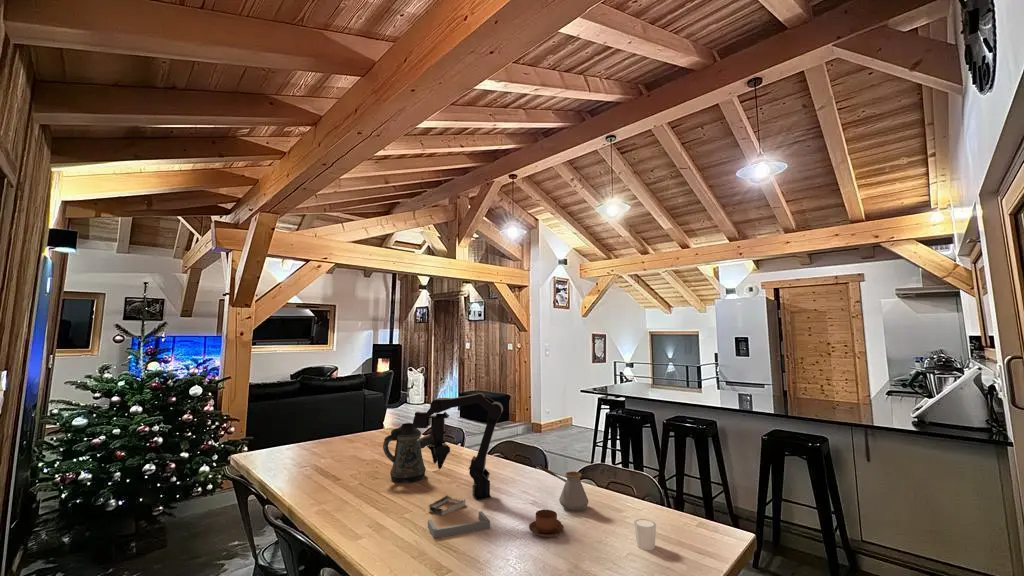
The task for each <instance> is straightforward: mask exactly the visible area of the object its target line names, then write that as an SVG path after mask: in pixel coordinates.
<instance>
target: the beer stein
mask: <svg viewBox="0 0 1024 576" xmlns="http://www.w3.org/2000/svg"><path fill="white" fill-rule="evenodd" d="M419 438H422V431H421V430H419V428H414V427H413V422H405V423H402V424H401V426H399V427H396V428H393V429H391V431H390V434H389V435H387V436H385V438H384V439H383V440H384V441H383V443H382V449H383V453H384V455H385V456H386V458H387V459H388V460H389V461H390V462H392V466H391V469H390V472H389V473H390V480H391V481H393V482H394V483H399V484H400V483H401V484H410V483H415V482H419V481H422V480H423V479H424V478H425V474H426V466H425V462H424V458H423V454H422V453H423V452H422V449H421V448H420V447H419V444H418V441H417V440H418V439H419ZM392 441H393V442H396V443H395V448H394V449H395V450H394V455H393V454H392V453H391V451H390V448H389V444H390V443H391V442H392Z"/></svg>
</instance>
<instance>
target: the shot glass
mask: <svg viewBox="0 0 1024 576" xmlns="http://www.w3.org/2000/svg"><path fill="white" fill-rule="evenodd" d="M633 525H634V526H633V528H634V535H635V542H636V543H635V544H636V547H637V548H638V549H640V550H643V551H652V550H653V551H654V550H655V548H656V535H657V534H656V533H657V531H656V530H657V524H656V522H655V521H653V520H650V519H647V518H646V519H645V518H639V519H635V520H634V521H633Z"/></svg>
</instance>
